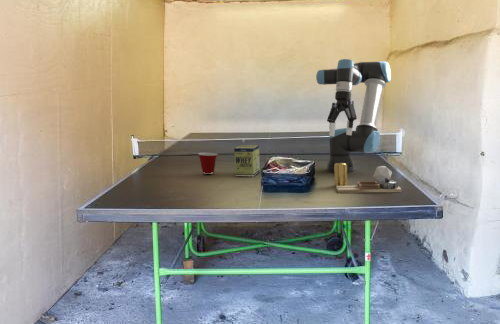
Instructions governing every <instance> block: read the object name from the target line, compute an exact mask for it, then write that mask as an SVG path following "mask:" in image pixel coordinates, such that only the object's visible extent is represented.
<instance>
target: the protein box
mask: <svg viewBox="0 0 500 324" xmlns="http://www.w3.org/2000/svg"><path fill="white" fill-rule="evenodd" d="M233 150H234V152H233V153H234V155H233V156H234V176H235V175H255V174H256V173H257V172H259V171H260V172H261V169H260V168H261V166H260V162H261V161H260V145H259V144H240V145H239V146H236V147H235V148H234V149H233ZM260 172H259V173H260Z"/></svg>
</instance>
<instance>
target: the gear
mask: <svg viewBox="0 0 500 324" xmlns="http://www.w3.org/2000/svg"><path fill="white" fill-rule="evenodd" d="M377 183H378V184H379V185H380V189H396V188H397V187H398V186H399V182H398V181H396V180H393V179H391V177H390V178H385V180H381V181H380V180H379V181H377Z"/></svg>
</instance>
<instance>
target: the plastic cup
mask: <svg viewBox="0 0 500 324" xmlns="http://www.w3.org/2000/svg"><path fill="white" fill-rule="evenodd" d="M197 155H198V156H199V160H200V161H199V162H200V167H201V172H202V173H203V172H205V173H211V172H214V173H215V167H216V160H217V156H218V155H219V154H218V153H216V152H198V153H197Z"/></svg>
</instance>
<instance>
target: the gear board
mask: <svg viewBox="0 0 500 324" xmlns="http://www.w3.org/2000/svg"><path fill="white" fill-rule="evenodd" d="M377 182H378V181H377V180H369V181H367V180H366V181H364V180H363V181H362V180H361V181H359V180H358V181H357V183H356V184H357V185H347V186H335V187H336V191H337V193H338V194H351V193H352V194H355V193H357V194H358V193H359V194H361V193H362V194H363V193H364V194H365V193H403V191H402V190H403V189H402V188H401V187H400V186H399V185H398V187H397V188H396V189H380V185H379V184H378V183H377Z"/></svg>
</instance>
